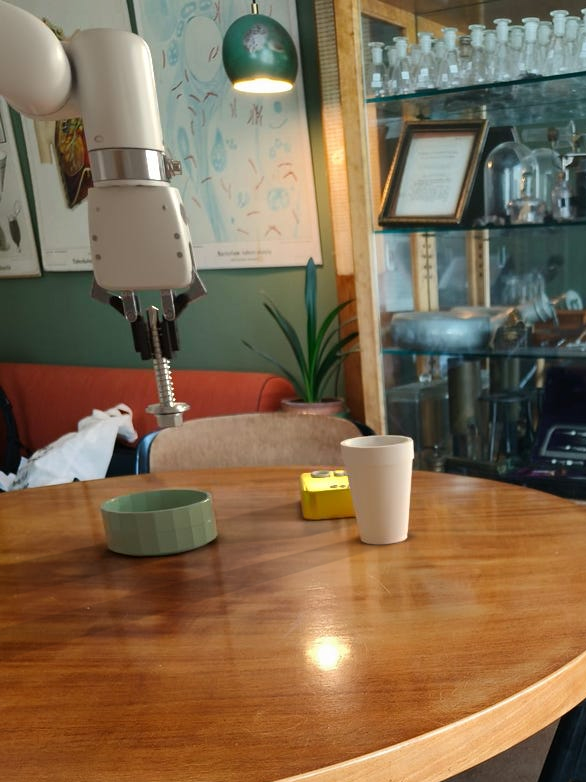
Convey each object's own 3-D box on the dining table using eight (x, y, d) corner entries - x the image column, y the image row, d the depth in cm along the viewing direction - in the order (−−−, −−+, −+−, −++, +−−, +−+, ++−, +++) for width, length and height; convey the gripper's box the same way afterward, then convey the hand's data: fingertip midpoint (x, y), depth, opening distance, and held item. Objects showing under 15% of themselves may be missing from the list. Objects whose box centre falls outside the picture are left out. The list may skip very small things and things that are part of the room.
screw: (139, 429, 100) (167, 422, 104) (174, 429, 99) (201, 423, 103) (118, 306, 95) (148, 305, 99) (154, 305, 94) (183, 304, 98)
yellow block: (303, 521, 130) (299, 489, 128) (301, 499, 143) (297, 470, 141) (404, 513, 132) (402, 481, 130) (393, 492, 146) (391, 463, 144)
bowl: (95, 561, 114) (86, 515, 111) (124, 533, 127) (116, 491, 124) (207, 554, 115) (200, 509, 113) (225, 527, 128) (219, 486, 126)
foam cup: (360, 551, 114) (351, 450, 109) (340, 534, 122) (331, 439, 117) (428, 541, 118) (423, 442, 113) (405, 525, 125) (399, 433, 121)
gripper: (213, 176, 96) (236, 353, 103) (61, 179, 94) (95, 359, 101) (202, 168, 89) (227, 358, 96) (38, 170, 87) (76, 364, 94)
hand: (159, 357), depth 99 cm, fingers closed on screw, 2 cm apart
